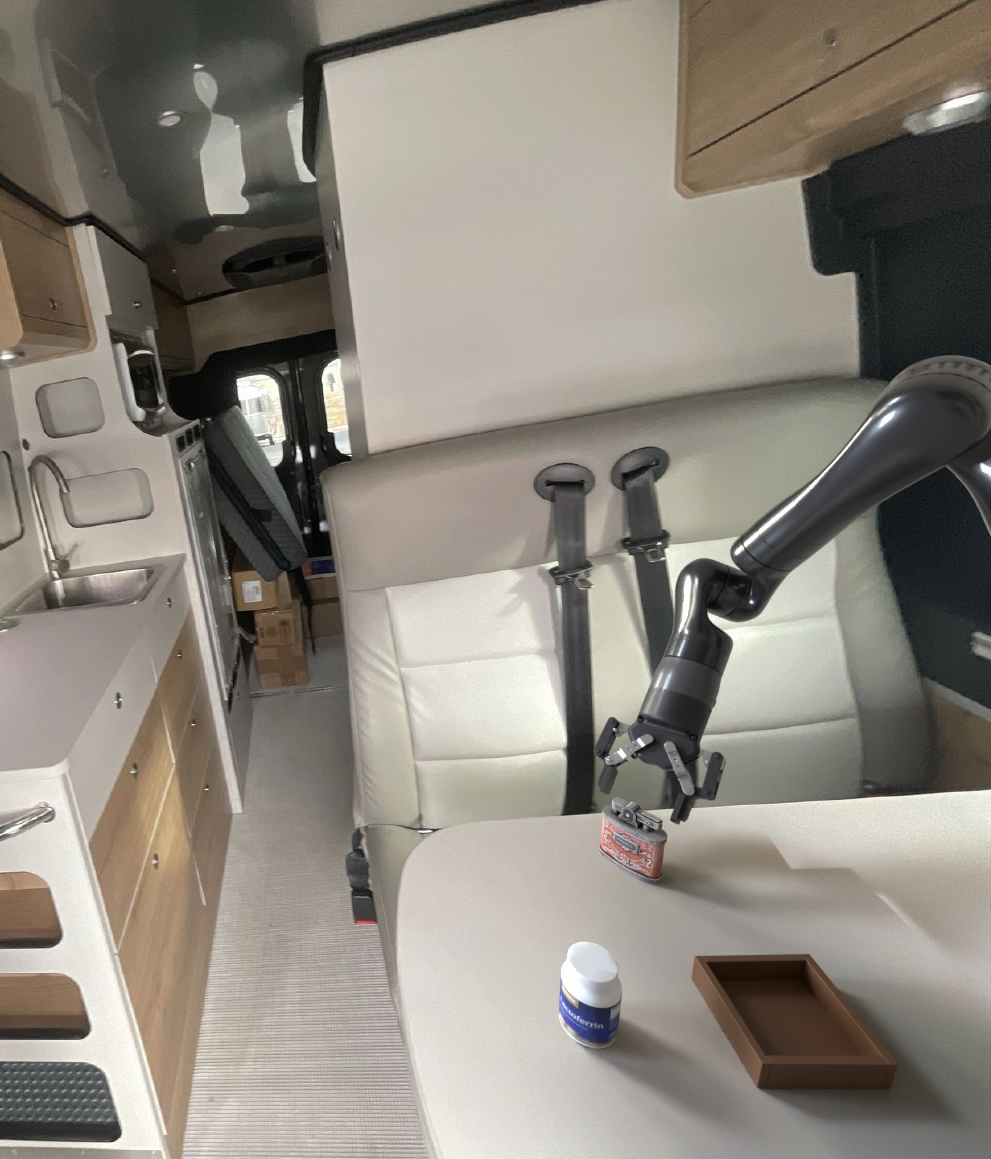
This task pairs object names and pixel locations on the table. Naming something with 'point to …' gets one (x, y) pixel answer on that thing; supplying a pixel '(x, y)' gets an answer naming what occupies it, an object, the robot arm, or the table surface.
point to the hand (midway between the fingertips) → (638, 807)
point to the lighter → (633, 840)
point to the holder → (791, 1023)
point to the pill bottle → (590, 995)
